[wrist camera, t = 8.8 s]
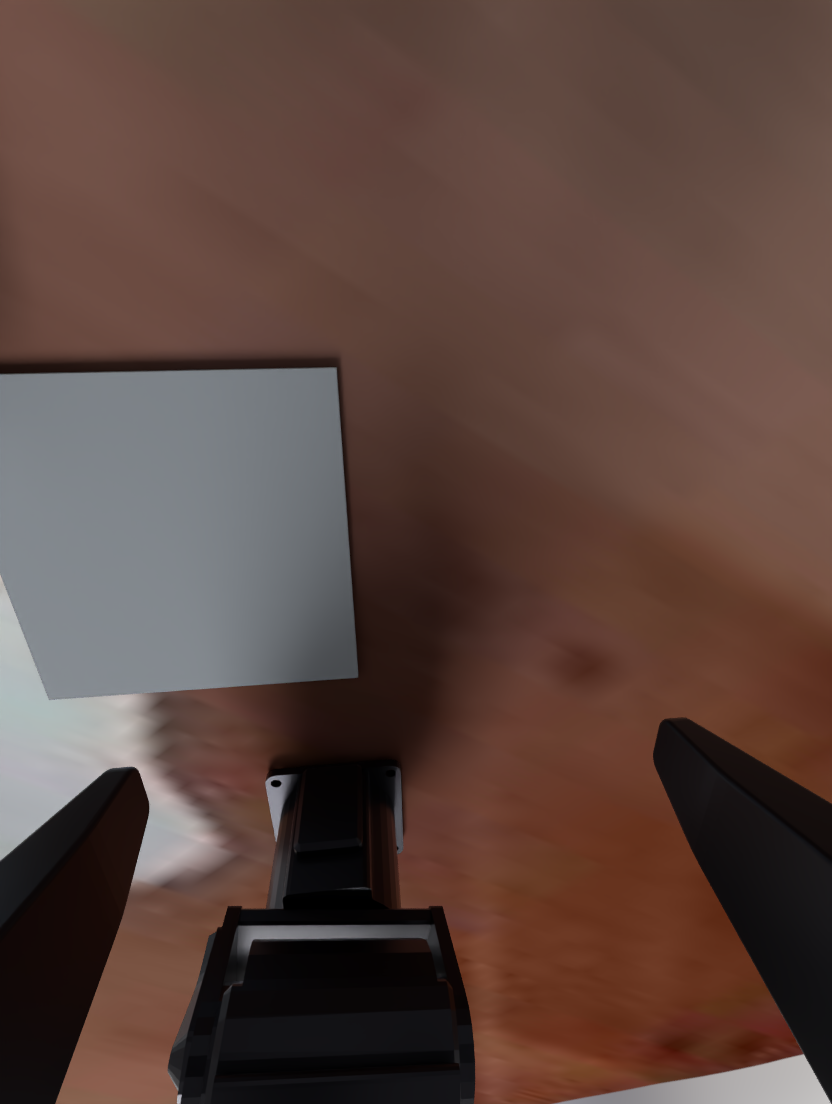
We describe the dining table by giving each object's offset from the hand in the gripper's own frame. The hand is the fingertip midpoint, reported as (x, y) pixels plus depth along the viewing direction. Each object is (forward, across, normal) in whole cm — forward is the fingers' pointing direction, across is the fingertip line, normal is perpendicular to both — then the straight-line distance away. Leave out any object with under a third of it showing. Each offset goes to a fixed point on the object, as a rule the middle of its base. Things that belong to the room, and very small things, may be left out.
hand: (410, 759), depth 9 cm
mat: (+12, +8, +1) cm, 15 cm away
